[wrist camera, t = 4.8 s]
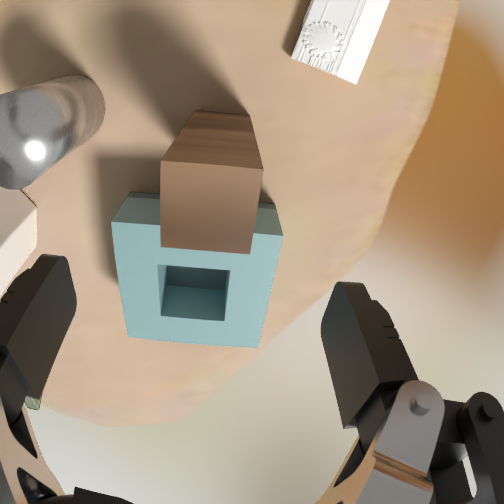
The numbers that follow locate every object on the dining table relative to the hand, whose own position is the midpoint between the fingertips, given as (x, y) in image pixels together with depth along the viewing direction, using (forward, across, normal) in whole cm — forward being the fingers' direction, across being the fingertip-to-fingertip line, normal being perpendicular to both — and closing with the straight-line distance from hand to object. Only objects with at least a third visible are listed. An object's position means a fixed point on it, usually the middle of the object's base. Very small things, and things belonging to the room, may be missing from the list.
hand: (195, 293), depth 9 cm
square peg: (+17, 0, 0) cm, 17 cm away
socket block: (+17, +1, +11) cm, 20 cm away
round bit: (+17, +12, -2) cm, 21 cm away
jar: (+17, +21, +8) cm, 28 cm away
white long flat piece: (+17, -9, -14) cm, 24 cm away
